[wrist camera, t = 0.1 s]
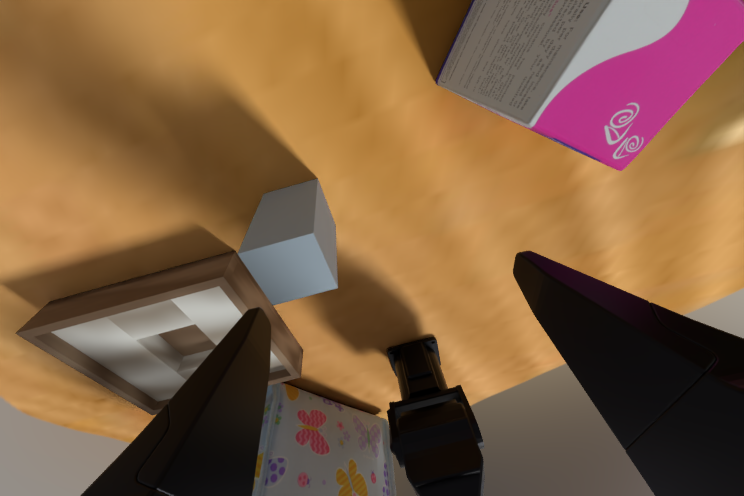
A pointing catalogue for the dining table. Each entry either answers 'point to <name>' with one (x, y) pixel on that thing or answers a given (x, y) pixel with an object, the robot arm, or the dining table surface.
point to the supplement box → (590, 65)
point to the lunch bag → (321, 448)
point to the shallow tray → (159, 328)
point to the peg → (292, 243)
